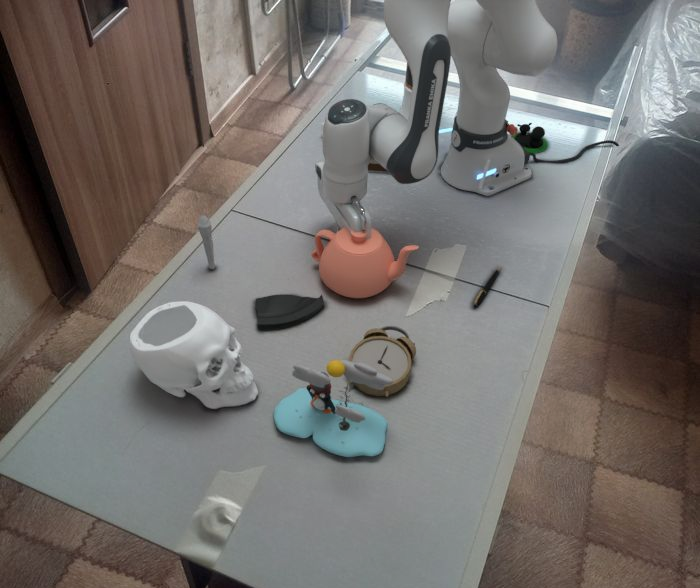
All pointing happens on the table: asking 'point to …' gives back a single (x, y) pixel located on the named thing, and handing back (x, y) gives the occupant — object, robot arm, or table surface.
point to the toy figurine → (531, 138)
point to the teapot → (358, 262)
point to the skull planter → (192, 354)
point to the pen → (207, 239)
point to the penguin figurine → (334, 411)
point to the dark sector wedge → (285, 310)
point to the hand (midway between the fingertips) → (343, 238)
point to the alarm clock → (385, 358)
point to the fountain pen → (486, 288)
